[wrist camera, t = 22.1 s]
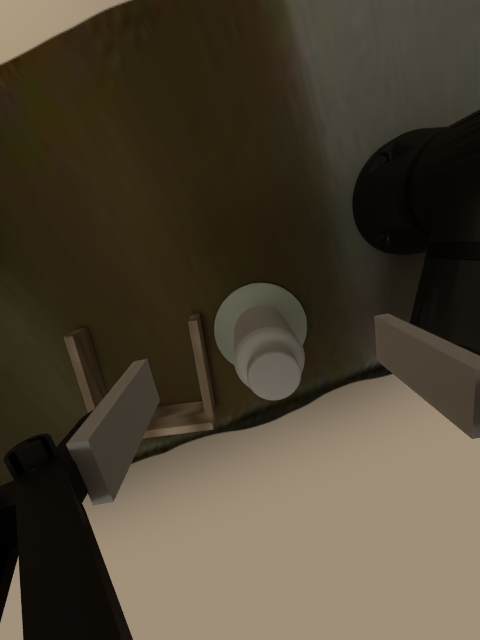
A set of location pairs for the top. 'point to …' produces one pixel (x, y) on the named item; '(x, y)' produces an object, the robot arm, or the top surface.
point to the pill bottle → (267, 353)
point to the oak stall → (164, 417)
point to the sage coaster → (249, 298)
